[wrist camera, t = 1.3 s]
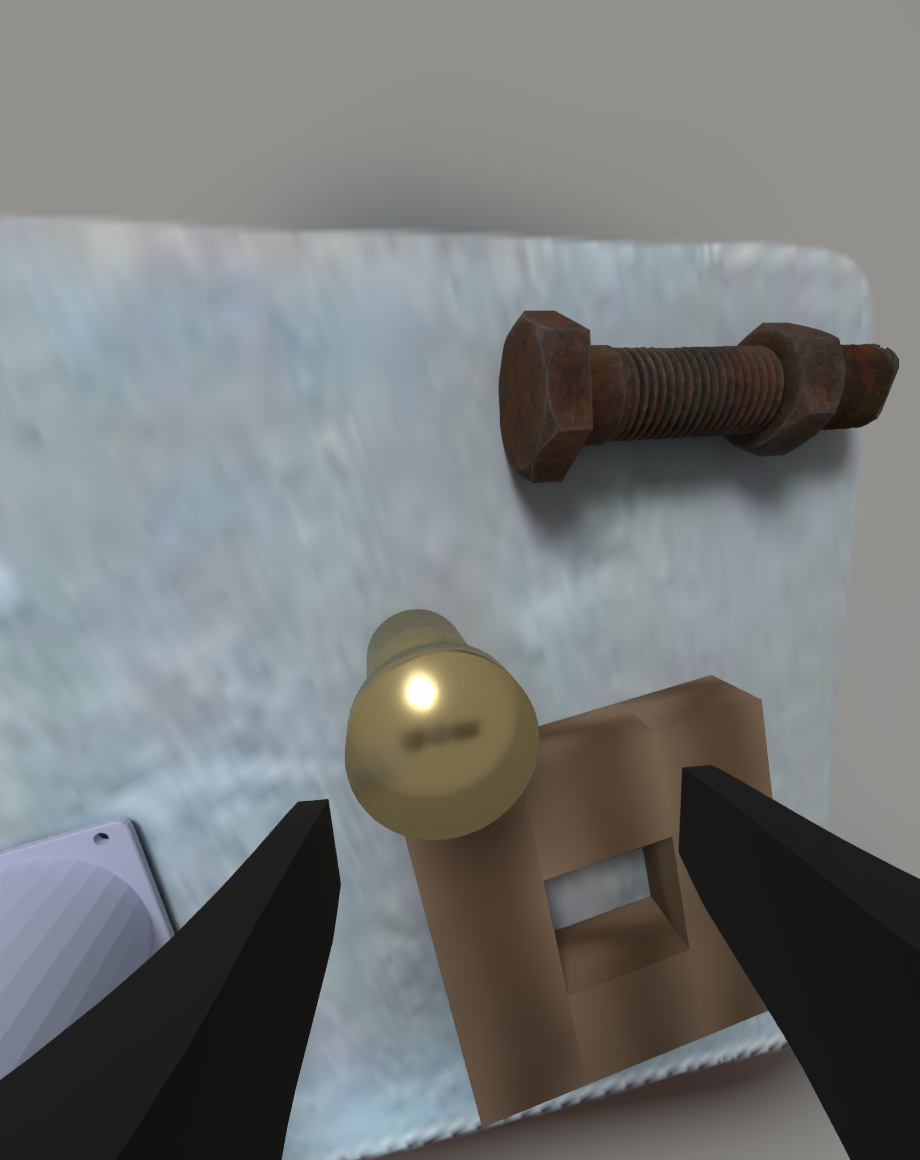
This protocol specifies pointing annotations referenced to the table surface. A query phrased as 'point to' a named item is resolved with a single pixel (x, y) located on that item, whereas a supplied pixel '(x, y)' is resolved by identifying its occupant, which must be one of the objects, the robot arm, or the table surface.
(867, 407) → the bolt
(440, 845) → the socket plate
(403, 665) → the brass pin
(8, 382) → the table surface
